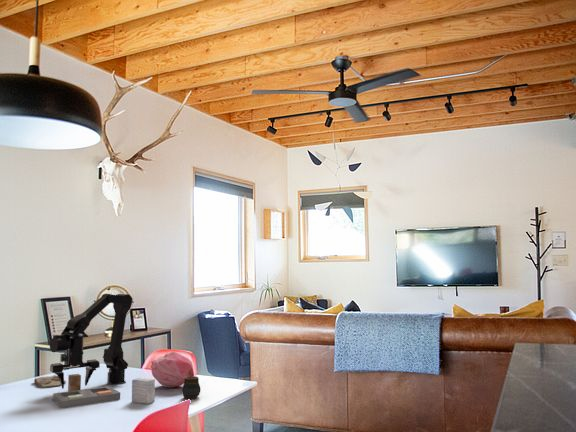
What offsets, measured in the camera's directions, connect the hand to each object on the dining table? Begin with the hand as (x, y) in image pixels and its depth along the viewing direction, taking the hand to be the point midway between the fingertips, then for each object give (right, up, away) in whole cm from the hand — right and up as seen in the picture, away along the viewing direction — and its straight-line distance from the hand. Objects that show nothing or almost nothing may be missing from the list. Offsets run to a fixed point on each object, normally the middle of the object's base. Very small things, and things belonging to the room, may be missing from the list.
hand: (74, 386), depth 223 cm
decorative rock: (+39, -3, +9) cm, 40 cm away
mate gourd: (+50, -2, -8) cm, 51 cm away
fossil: (-17, -4, +14) cm, 23 cm away
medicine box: (+33, -1, -15) cm, 36 cm away
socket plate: (+10, -1, -12) cm, 15 cm away
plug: (0, -2, 0) cm, 2 cm away
